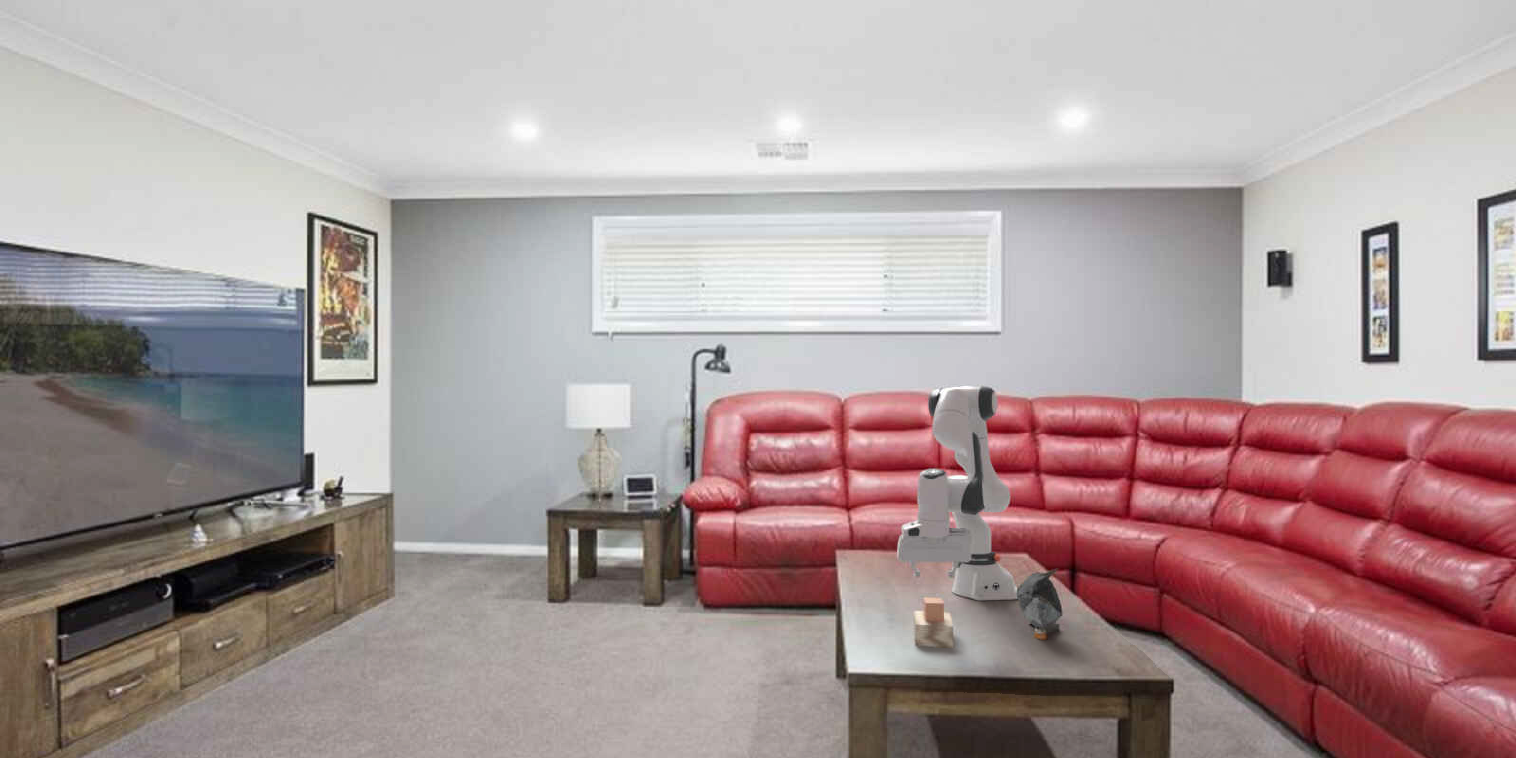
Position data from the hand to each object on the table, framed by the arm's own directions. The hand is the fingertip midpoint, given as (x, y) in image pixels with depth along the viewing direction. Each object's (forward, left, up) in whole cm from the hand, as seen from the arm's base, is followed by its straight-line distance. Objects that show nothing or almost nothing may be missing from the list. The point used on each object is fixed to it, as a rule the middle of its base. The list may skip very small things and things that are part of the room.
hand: (934, 577), depth 213 cm
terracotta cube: (0, 0, -12) cm, 12 cm away
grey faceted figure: (-31, -6, -17) cm, 36 cm away
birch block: (0, 0, -18) cm, 18 cm away
